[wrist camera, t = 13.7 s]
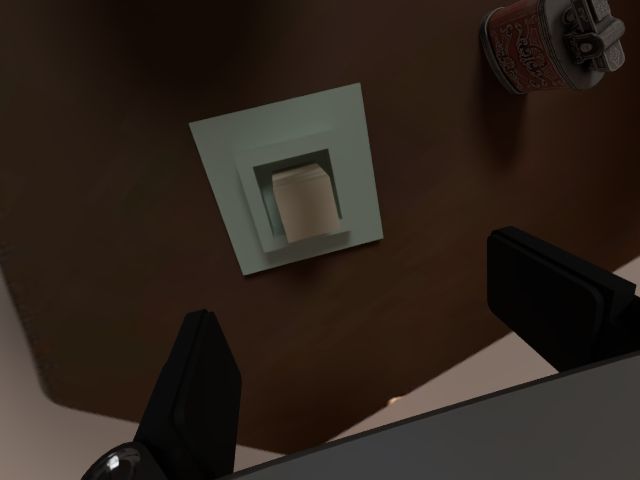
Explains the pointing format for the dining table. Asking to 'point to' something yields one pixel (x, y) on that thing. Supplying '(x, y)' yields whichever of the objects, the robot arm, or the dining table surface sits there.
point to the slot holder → (284, 151)
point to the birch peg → (305, 201)
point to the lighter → (552, 44)
